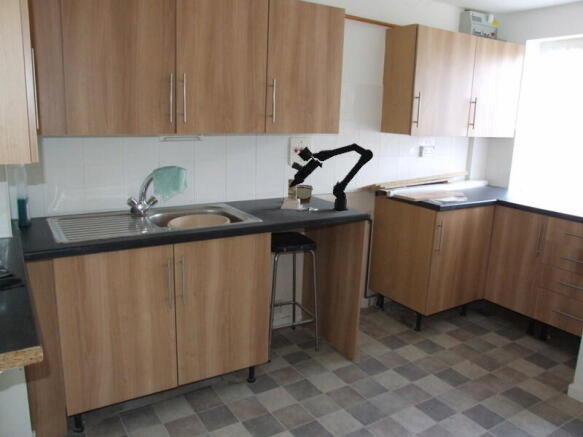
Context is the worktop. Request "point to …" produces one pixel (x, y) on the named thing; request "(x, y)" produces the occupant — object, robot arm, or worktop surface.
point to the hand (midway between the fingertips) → (290, 186)
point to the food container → (304, 193)
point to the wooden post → (292, 190)
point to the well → (292, 204)
